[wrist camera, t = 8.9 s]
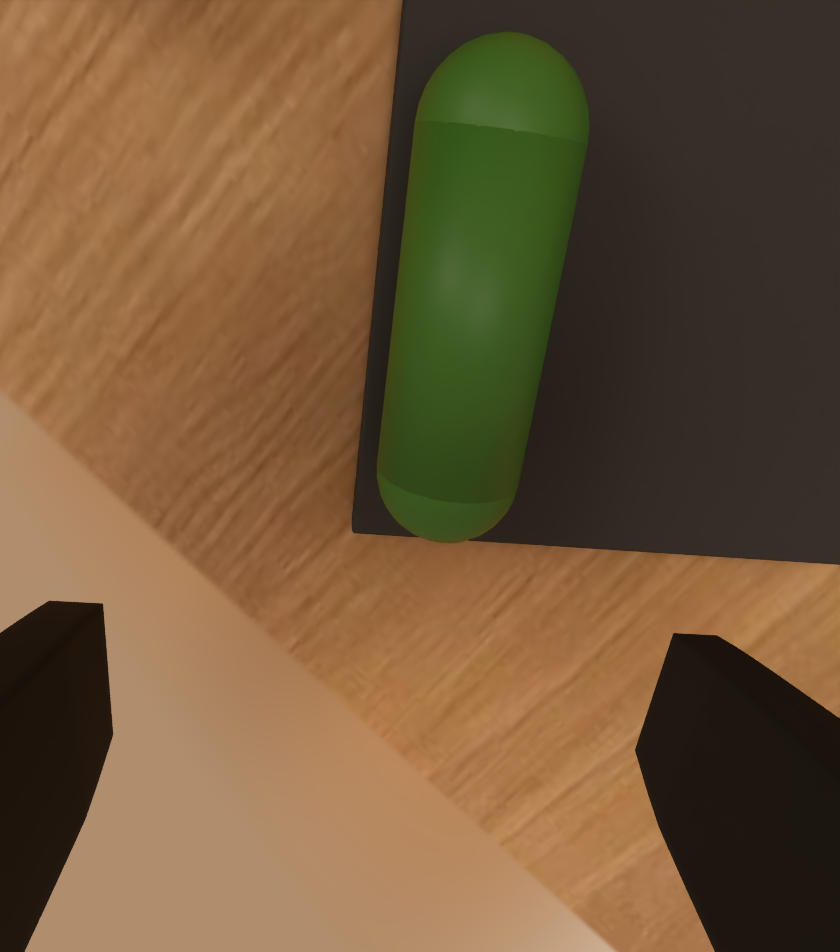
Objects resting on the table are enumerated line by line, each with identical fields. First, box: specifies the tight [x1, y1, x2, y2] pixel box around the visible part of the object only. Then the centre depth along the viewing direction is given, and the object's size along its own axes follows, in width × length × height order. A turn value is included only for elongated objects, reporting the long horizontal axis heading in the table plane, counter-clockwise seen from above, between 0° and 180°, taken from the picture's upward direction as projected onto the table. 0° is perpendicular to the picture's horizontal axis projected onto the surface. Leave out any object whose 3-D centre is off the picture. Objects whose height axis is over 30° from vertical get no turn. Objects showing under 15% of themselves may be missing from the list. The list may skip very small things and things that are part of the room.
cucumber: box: [377, 32, 590, 543], centre depth 14 cm, size 10×3×3 cm, turn 173°
